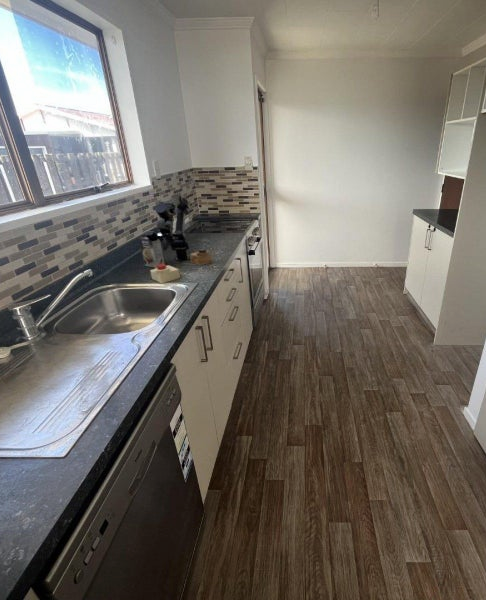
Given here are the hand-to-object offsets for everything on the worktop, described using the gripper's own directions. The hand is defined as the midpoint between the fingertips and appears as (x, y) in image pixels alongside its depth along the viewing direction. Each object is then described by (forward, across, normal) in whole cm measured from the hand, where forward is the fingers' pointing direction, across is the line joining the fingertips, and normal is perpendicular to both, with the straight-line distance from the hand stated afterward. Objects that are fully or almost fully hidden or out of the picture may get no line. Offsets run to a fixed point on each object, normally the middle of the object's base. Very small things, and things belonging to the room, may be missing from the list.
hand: (164, 250), depth 167 cm
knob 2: (-7, +15, +16) cm, 23 cm away
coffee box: (-1, -13, +20) cm, 24 cm away
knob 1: (+11, 0, -1) cm, 11 cm away
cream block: (+14, 0, +5) cm, 14 cm away
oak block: (-3, +13, +22) cm, 26 cm away
